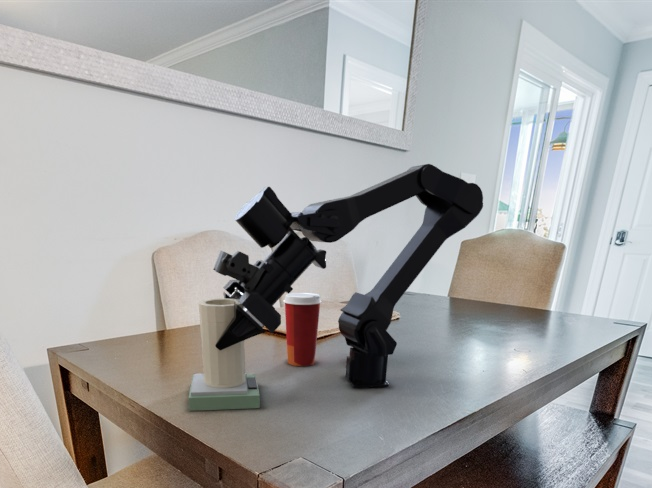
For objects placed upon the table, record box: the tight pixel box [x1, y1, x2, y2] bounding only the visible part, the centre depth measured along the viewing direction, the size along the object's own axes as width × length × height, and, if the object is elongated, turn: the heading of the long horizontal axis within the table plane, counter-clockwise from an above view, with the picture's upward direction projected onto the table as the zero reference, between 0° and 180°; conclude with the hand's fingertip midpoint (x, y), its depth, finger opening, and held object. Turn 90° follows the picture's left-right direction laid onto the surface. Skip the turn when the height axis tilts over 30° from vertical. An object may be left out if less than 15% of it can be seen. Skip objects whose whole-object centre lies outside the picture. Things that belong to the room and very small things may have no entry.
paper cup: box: [282, 292, 323, 367], centre depth 94 cm, size 8×8×14 cm
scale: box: [187, 372, 261, 412], centre depth 77 cm, size 11×11×3 cm
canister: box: [198, 297, 246, 388], centre depth 74 cm, size 7×7×13 cm
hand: (214, 342), depth 73 cm, fingers closed on canister, 7 cm apart
